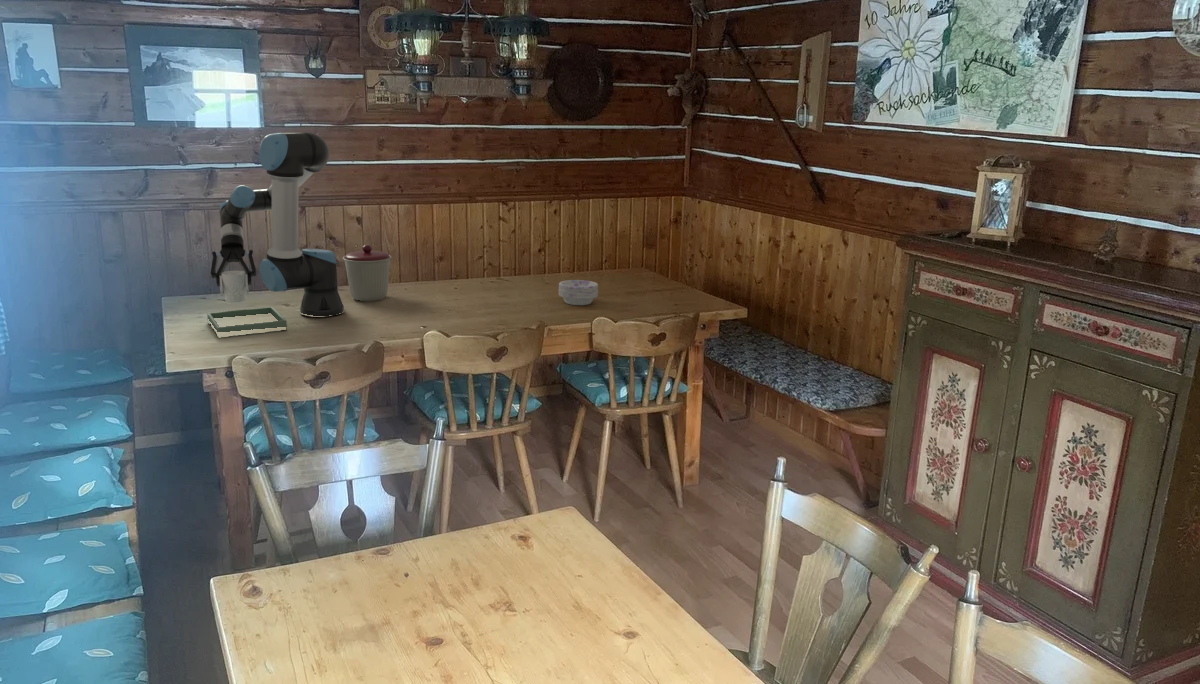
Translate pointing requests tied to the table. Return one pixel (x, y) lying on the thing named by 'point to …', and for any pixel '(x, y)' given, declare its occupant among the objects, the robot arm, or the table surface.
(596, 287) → the paper bowls
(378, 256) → the canister
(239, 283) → the white cup
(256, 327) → the green box
